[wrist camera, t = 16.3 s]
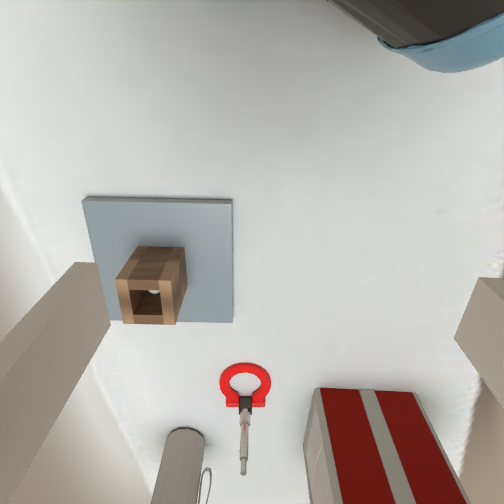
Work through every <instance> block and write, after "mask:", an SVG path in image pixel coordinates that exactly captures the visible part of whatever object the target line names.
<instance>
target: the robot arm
mask: <svg viewBox="0 0 504 504" xmlns="http://www.w3.org/2000/svg"><path fill="white" fill-rule="evenodd" d="M327 1H329V2H330V3H332V4H333V5H334V6H336V7H337V8H339V9H340V10H341V11H343V12H344V13H346V14H347V15H348V16H350V17H351V18H353V19H354V20H355V21H357V22H358V23H360V24H361V25H362V26H364V27H365V28H367V29H368V30H369V31H371V32H372V33H374V34H375V35H376V36H377V38H378V41H379V42H380V43H381V44H382V45H383V46H384V47H385V48H386V49H388V50H390V51H394V52H396V53H400V54H403V55H405V56H406V57H408V58H410V59H411V60H413V61H414V62H416V63H417V64H419V65H421V66H422V67H424V68H426V69H428V70H431V71H437V72H442V73H456V72H461V71H467V70H471V69H475V68H478V67H481V66H483V65H486V64H489V63H491V62H493V61H496V60H498V59H500V58H502V57H504V0H327ZM110 325H111V324H110V319H109V315H108V310H107V305H106V301H105V296H104V291H103V287H102V282H101V277H100V273H99V268H98V263H86V262H75V263H74V264H73V265H72V266H71V267H70V268H69V269H68V270H67V271H66V272H65V274H64V275H63V276H62V277H61V278H60V279H59V280H58V281H57V282H56V283H55V284H54V285H53V286H52V287H51V288H50V289H49V291H48V292H47V293H46V294H45V295H44V296H43V297H42V298H41V299H40V300H39V301H38V302H37V303H36V304H35V305H34V307H33V308H32V309H31V310H30V311H29V312H28V313H27V314H26V315H25V316H24V317H23V318H22V319H21V321H19V322H18V324H17V325H16V326H15V327H14V328H13V329H12V330H11V331H10V332H9V333H8V334H7V335H6V336H5V337H4V339H3V340H2V341H1V342H0V504H8V502H9V501H10V499H11V497H12V495H13V493H14V492H15V490H16V488H17V487H18V485H19V483H20V481H21V480H22V478H23V476H24V475H25V473H26V471H27V469H28V468H29V466H30V464H31V462H32V461H33V459H34V457H35V455H36V454H37V452H38V450H39V449H40V447H41V445H42V443H43V441H44V440H45V438H46V436H47V435H48V433H49V431H50V429H51V427H52V426H53V424H54V423H55V421H56V419H57V417H58V416H59V413H60V412H61V410H62V409H63V407H64V405H65V403H66V402H67V400H68V398H69V396H70V395H71V393H72V391H73V389H74V388H75V386H76V384H77V383H78V381H79V379H80V377H81V376H82V374H83V372H84V370H85V369H86V367H87V365H88V363H89V362H90V360H91V358H92V357H93V355H94V353H95V351H96V350H97V348H98V346H99V344H100V343H101V341H102V339H103V337H104V336H105V334H106V332H107V330H108V329H109V327H110ZM454 339H455V341H456V342H457V343H458V345H459V346H460V348H461V349H462V351H463V352H464V353H465V355H466V356H467V358H468V359H469V360H470V362H471V363H472V365H473V366H474V367H475V369H476V370H477V372H478V373H479V375H480V376H481V377H482V379H483V380H484V382H485V383H486V384H487V386H488V387H489V389H490V390H491V391H492V393H493V394H494V396H495V397H496V398H497V400H498V401H499V403H500V404H501V405H502V407H503V408H504V280H503V279H502V278H483V277H479V278H478V281H477V283H476V285H475V288H474V290H473V293H472V295H471V297H470V300H469V302H468V305H467V307H466V310H465V312H464V314H463V317H462V319H461V322H460V324H459V327H458V329H457V331H456V334H455V336H454Z"/></svg>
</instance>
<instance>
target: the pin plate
mask: <svg viewBox="0 0 504 504" xmlns="http://www.w3.org/2000/svg"><path fill="white" fill-rule="evenodd" d="M82 206H83V210H84V215H85V219H86V224H87V228H88V233H89V237H90V242H91V246H92V251H93V256H94V260H95V263H98V268H99V273H100V277H101V282H102V287H103V291H104V296H105V301H106V305H107V310H108V315H109V319H110V320H122V314H121V309H120V304H119V299H118V293H117V288H116V283H115V278H116V277H117V275H118V274H119V272H120V271H121V270H122V268H123V267H124V265H125V264H126V262H127V261H128V259H129V258H130V256H131V255H132V254H133V252H134V251H135V249H136V248H137V246H156V247H185V260H186V273H187V286H188V287H187V290H186V293H185V296H184V299H183V302H182V305H181V308H180V312H179V315H178V318H177V321H176V322H216V323H232V322H233V245H232V200H206V199H160V198H114V197H86V198H85V199H83V200H82ZM148 291H149V292H151V293H153V294H157V293H159V292H160V290H148Z"/></svg>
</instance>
